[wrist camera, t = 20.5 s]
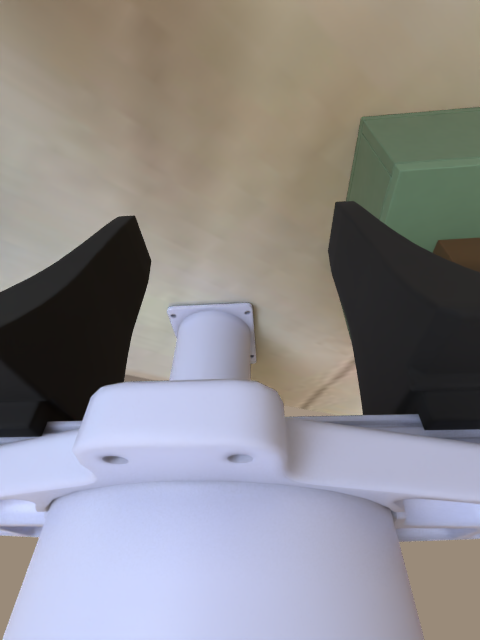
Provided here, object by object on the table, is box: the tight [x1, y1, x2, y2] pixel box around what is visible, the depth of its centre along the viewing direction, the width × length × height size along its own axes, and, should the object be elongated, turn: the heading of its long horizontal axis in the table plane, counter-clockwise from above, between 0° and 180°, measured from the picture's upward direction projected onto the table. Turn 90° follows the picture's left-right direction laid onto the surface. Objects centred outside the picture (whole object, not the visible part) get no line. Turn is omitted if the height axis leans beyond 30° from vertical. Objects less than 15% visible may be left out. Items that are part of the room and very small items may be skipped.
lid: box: [349, 158, 480, 339], centre depth 17 cm, size 12×12×1 cm
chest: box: [340, 107, 480, 331], centre depth 20 cm, size 11×12×6 cm
